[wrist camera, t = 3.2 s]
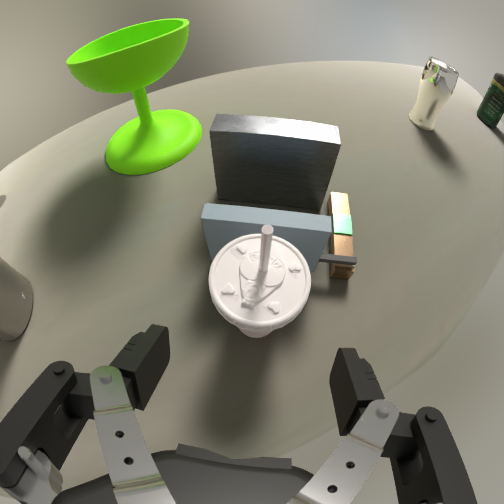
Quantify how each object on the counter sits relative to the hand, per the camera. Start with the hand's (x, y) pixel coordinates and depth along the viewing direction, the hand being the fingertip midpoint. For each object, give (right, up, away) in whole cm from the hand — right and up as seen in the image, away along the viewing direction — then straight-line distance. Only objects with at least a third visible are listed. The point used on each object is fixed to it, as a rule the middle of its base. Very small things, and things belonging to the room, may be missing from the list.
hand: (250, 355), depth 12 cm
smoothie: (0, -2, +13) cm, 13 cm away
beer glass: (+35, +32, +32) cm, 57 cm away
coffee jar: (+72, +45, +40) cm, 94 cm away
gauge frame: (+3, +8, +18) cm, 20 cm away
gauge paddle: (+3, +4, +15) cm, 16 cm away
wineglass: (-15, +22, +26) cm, 38 cm away
